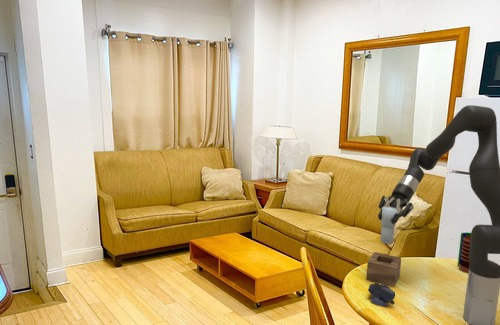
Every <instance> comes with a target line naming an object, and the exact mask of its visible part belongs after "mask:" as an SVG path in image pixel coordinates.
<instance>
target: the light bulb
mask: <svg viewBox="0 0 500 325" xmlns="http://www.w3.org/2000/svg"><path fill="white" fill-rule="evenodd" d="M396 211H397V209H396V208H393V207H390V206H389V207H383V208H382V220H380V222H381V223H380V225H381V229H380V230H381V232H380V242H381V243H383V244H387V245H392V244H393V243H394V233H395V227H396V223H395V224H392V222H391V220H392V218H393V216H394V215H395V214H396Z"/></svg>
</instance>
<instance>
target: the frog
mask: <svg viewBox="0 0 500 325" xmlns="http://www.w3.org/2000/svg"><path fill="white" fill-rule="evenodd" d="M376 282H378V280H377V281H376ZM376 282H373V283H372V284H369V287H368V289H367V291H368V293H369V294H370V295H371V297H370V301H371V302H372V303H373V304H375V305H377V306H381V307H383V308H388V304H387V303H389V302H391V304H393V305H395V301H394V299H395V297H396V292H395V291H394V290H393V289H391V288H390V286H388V285H384V284H380V282H379V283H376Z"/></svg>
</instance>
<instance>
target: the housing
mask: <svg viewBox="0 0 500 325" xmlns="http://www.w3.org/2000/svg"><path fill="white" fill-rule="evenodd" d="M401 264H402V257H398V256H394V255H391V254H386V253H380V252H377V251H376V252H375V251H374V252H373V253H372V255H371V256H370V258H369V259H368V261H367V264H366V265H367V266H366V277H365V278H366V279H365V281H369V282H372V283H375V282H376V281H377V280H378V282H376V283H378V284H380V285H386V286H388V287H392V288H395V287H396V285H397V283H398V281H399V278H400V276H401V274H400V273H401ZM379 282H380V283H379Z"/></svg>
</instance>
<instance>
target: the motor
mask: <svg viewBox="0 0 500 325" xmlns="http://www.w3.org/2000/svg"><path fill="white" fill-rule="evenodd" d="M470 237H471V232H461V233H460V240H459V250H458V257H457V264H456V265H457V267H458V270H459V271H461V272H463V273H466V274H469V266H470V263H469V251H470Z"/></svg>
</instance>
